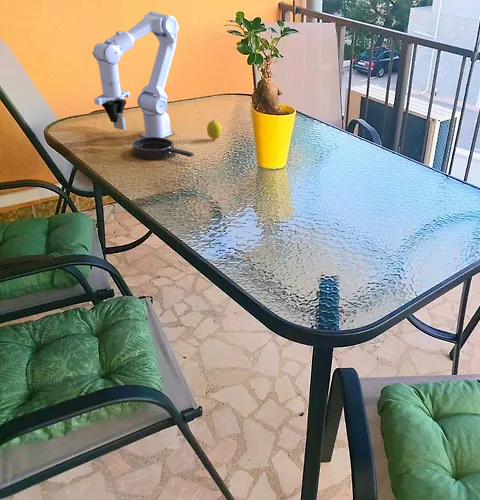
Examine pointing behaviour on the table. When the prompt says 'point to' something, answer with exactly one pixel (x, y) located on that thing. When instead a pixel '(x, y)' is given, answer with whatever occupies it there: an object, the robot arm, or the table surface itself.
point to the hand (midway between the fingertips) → (116, 121)
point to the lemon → (214, 129)
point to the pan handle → (181, 152)
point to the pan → (152, 148)
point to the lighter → (120, 122)
